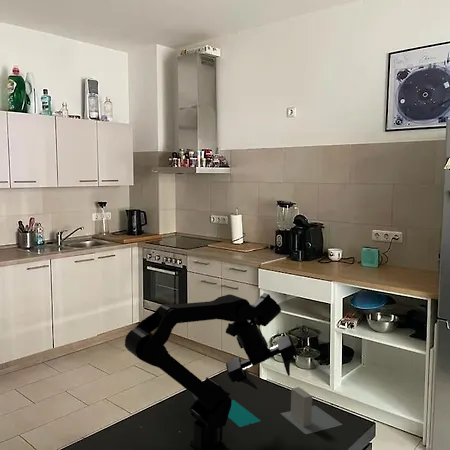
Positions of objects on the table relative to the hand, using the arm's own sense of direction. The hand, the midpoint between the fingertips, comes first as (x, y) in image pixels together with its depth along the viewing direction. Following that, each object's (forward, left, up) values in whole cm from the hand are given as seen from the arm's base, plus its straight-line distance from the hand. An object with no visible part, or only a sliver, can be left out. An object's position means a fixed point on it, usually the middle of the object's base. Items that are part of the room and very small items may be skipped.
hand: (272, 381), depth 123 cm
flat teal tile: (-4, +10, -12) cm, 16 cm away
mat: (+10, -5, -12) cm, 16 cm away
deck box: (+7, -4, -11) cm, 14 cm away
